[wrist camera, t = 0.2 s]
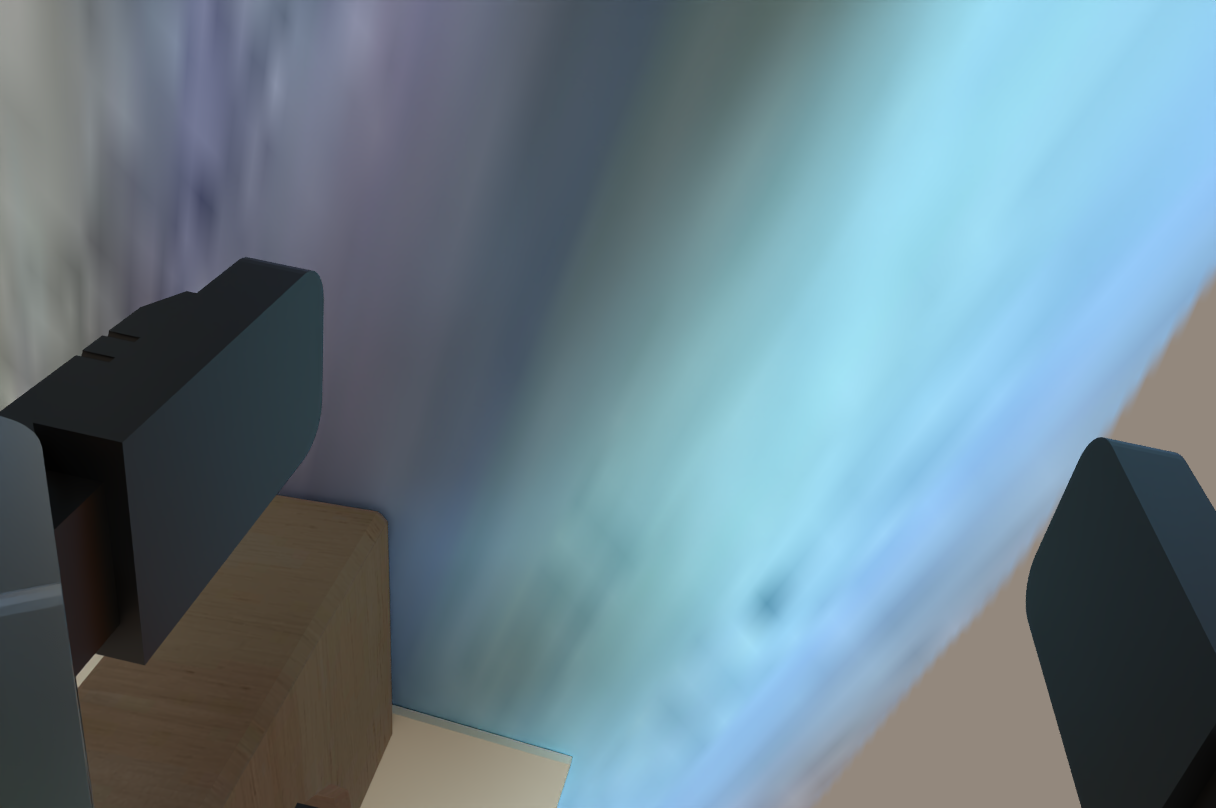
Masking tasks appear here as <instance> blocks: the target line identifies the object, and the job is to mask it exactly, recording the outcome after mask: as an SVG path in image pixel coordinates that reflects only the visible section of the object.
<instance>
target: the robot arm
mask: <svg viewBox="0 0 1216 808" xmlns="http://www.w3.org/2000/svg"><path fill="white" fill-rule="evenodd" d="M323 306H324V297H323V286H322V282H321V279H320V276H319V275H318V274H317V273H316V272H315V271H311V270H306V269H301V268H296V267H291V266H287V265H282V264H277V263H272V262H267V261H263V260H258V259H253V258H248V257H245V258H242V259H240V260H238V261H237V262H236V263H234V264H233V265H232V266H231V267H229V268H228V269H227V270H226V271H224V272H223V273H222V274H220V275H219V276H218V277H217V278H215V279H214V280H213V281H212V282H210V283H209V284H208V285H207V286H205V287H204V288H203V289H201V290H200V291H199V292H198V293H192V292H188V291H186V292H183V293H180V294H177V295H174V296H172V297H169V298H166V299H163V300H160V301H157V302H154V303H152V304H149V305H146V306H143V307H140V308H139V309H138V310H136V311H135V312H134V313H132V314H131V315H129V316H128V317H127V318H125V319H124V320H123V321H121V322H120V323H119V324H117V325H116V326H115V327H113V328H112V329H111V330H109V334H108V337H107V336H101V337H100V338H99V339H97V340H96V341H94V342H93V343H92V344H90V345H89V346H88V347H86V348H85V349H84V350H83V353H82V356H77V355H76V356H74V357H73V358H72V359H70V360H69V361H68V362H66V363H65V364H64V365H62V366H61V367H59V368H58V369H57V370H55V371H54V372H53V373H51V374H50V375H49V376H47V377H46V378H45V379H43V380H42V381H41V382H39V383H38V384H37V385H35V386H34V387H33V388H31V389H30V390H29V391H27V392H26V393H24V394H23V395H22V396H20V397H19V398H18V399H16V400H15V401H14V402H12V403H11V404H10V405H8V406H7V407H6V408H4V409H3V410H2V411H0V808H94V801H93V794H92V787H91V780H90V773H89V766H88V758H87V751H86V744H85V737H84V730H83V723H82V716H81V709H80V702H79V695H78V688H77V681H76V676H77V675H78V674H79V672H80V671H81V670H82V669H83V668H84V666H85V665H86V664H87V663H88V662H89V661H90V659H91V658H92V657H93V656H94V655H95V654H98V655H102V656H107V657H111V658H115V659H119V660H124V661H128V662H132V663H136V664H141V665H146V663H147V662H148V661H149V659H150V658H151V657H152V656H153V654H154V653H155V652H156V650H157V649H158V648H159V646H160V645H161V644H162V643H163V641H164V640H165V639H166V637H167V636H168V635H169V634H170V632H171V631H172V630H173V628H174V627H175V626H176V624H177V623H178V622H179V621H180V619H181V618H182V617H183V615H184V614H185V613H186V611H187V610H188V609H189V608H190V606H191V605H192V604H193V602H194V601H195V600H196V599H197V597H198V596H199V595H200V593H201V592H202V591H203V589H204V588H205V587H206V586H207V584H208V583H209V582H210V580H211V579H212V578H213V576H214V575H215V574H216V573H217V571H218V570H219V569H220V567H221V566H222V565H223V564H224V562H225V561H226V560H227V558H228V557H229V556H230V554H231V553H232V552H233V551H234V549H235V548H236V547H237V545H238V544H239V543H240V541H241V540H242V539H243V538H244V536H245V535H246V534H247V532H248V531H249V530H250V529H251V527H252V526H253V525H254V523H255V522H256V521H257V519H258V518H259V517H260V516H261V514H262V513H263V512H264V510H265V509H266V508H267V506H268V505H269V504H270V503H271V501H272V500H273V499H274V497H275V496H276V495H277V494H278V492H279V491H280V490H281V488H282V487H283V486H284V484H285V483H286V482H287V481H288V479H289V478H290V477H291V475H292V474H293V473H294V471H295V470H296V469H297V468H298V466H299V465H300V464H301V462H302V461H303V460H304V458H305V457H306V455H307V454H308V452H309V450H310V448H311V446H312V443H313V441H314V438H315V435H316V432H317V429H318V425H319V421H320V415H321V408H322V375H323ZM1026 613H1027V619H1028V623H1029V626H1030V630H1031V633H1032V637H1033V640H1034V644H1035V647H1036V651H1037V654H1038V657H1039V661H1040V665H1041V668H1042V672H1043V675H1044V679H1045V682H1046V685H1047V689H1048V692H1049V696H1050V700H1051V703H1052V706H1053V710H1054V713H1055V716H1056V720H1057V724H1058V727H1059V731H1060V734H1061V738H1062V741H1063V745H1064V748H1065V752H1066V755H1067V759H1068V762H1069V765H1070V769H1071V773H1072V776H1073V780H1074V783H1075V787H1076V790H1077V794H1078V797H1079V801H1080V804H1081V808H1216V511H1215V509H1214V507H1213V506H1212V504H1211V503H1210V501H1209V499H1208V498H1207V496H1206V494H1205V493H1204V491H1203V489H1202V488H1201V486H1200V484H1199V483H1198V481H1197V479H1196V478H1195V476H1194V475H1193V473H1192V471H1191V469H1190V468H1189V466H1188V464H1187V463H1186V461H1185V460H1184V458H1183V457H1182V456H1181V455H1179V454H1178V453H1175V452H1170V451H1165V450H1160V449H1156V448H1151V447H1146V446H1141V445H1137V444H1132V443H1127V442H1122V441H1117V440H1112V439H1108V438H1103V437H1100V438H1096V439H1095V440H1093V441H1092V442H1091V443H1090V444H1089V445H1088V446H1087V447H1086V449H1085V450H1084V452H1083V453H1082V455H1081V457H1080V459H1079V461H1078V463H1077V465H1076V468H1075V470H1074V472H1073V474H1072V476H1071V478H1070V481H1069V483H1068V485H1067V487H1066V489H1065V492H1064V494H1063V496H1062V498H1061V500H1060V503H1059V505H1058V507H1057V509H1056V511H1055V514H1054V516H1053V518H1052V520H1051V522H1050V524H1049V527H1048V529H1047V531H1046V533H1045V535H1044V538H1043V540H1042V542H1041V544H1040V546H1039V549H1038V551H1037V553H1036V555H1035V558H1034V560H1033V563H1032V566H1031V569H1030V573H1029V577H1028V583H1027V590H1026ZM295 808H318V807H314V806H309V805H305V804H301V803H297V804H296V806H295Z"/></svg>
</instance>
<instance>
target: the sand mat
mask: <svg viewBox="0 0 1216 808" xmlns="http://www.w3.org/2000/svg"><path fill="white" fill-rule="evenodd" d="M102 658H103V656H102V655H98V654H95V655H94V656H93V657H92V658H91V659H90V661H89V662H88V663H87V664H86V665H85V666H84V668H83V669H82V670H81V671H80V672H79V674H78V675H77V676H76V681H77V688H78V687H79V686H80V685H81V683H82V682H83V681H84V680H85V678H86V677H87V676H88V675H89V674H90V672H91V671H92V670H93V669H94V667H95V666H96V665H97V664H98V663H99V661H100V660H101V659H102ZM392 733H393V734H392V736H391V738H390V740H389V743H388V745H387V747H386V750H385V752H384V754H383V756H382V759H381V761H380V763H379V766H378V768H377V770H376V773H375V775H374V777H373V779H372V782H371V784H370V786H369V789H368V791H367V793H366V795H365V798H364V800H363V802H362V805H361V807H360V808H557V805H558V802H559V799H560V795H561V792H562V789H563V786H564V783H565V780H566V777H567V774H568V771H569V768H570V764H571V760H572V757H571V756H568V755H564V754H561V753H558V752H554V751H551V750H547V749H544V748H540V747H537V746H533V745H530V744H527V743H523V742H520V741H516V740H513V739H509V738H506V737H502V736H499V735H496V734H492V733H489V732H485V731H482V730H478V729H475V728H471V727H468V726H465V725H461V724H458V723H454V722H451V721H447V720H444V719H440V718H437V717H434V716H430V715H427V714H423V713H420V712H416V711H413V710H409V709H406V708H403V707H399V706H396V705H392Z"/></svg>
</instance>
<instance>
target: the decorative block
mask: <svg viewBox="0 0 1216 808" xmlns="http://www.w3.org/2000/svg"><path fill="white" fill-rule="evenodd" d="M78 695H79V702H80V709H81V716H82V723H83V730H84V737H85V744H86V751H87V758H88V766H89V773H90V780H91V787H92V794H93V801H94V808H295V806H296V804H297V803H301V804H305V805H309V806H314V807H318V808H360V807H361V805H362V802H363V800H364V798H365V795H366V793H367V791H368V789H369V786H370V784H371V782H372V779H373V777H374V775H375V773H376V770H377V768H378V766H379V763H380V761H381V759H382V756H383V754H384V752H385V750H386V747H387V745H388V743H389V740H390V738H391V736H392V734H393V733H392V682H391V632H390V592H389V551H388V521H387V520H386V519H385V518H384V517H383V515H382V514H381V513H379V512H378V511H372V510H366V509H360V508H353V507H347V506H341V505H335V504H329V503H323V502H317V501H311V500H305V499H298V498H292V497H286V496H280V495H276V496H275V497H274V499H273V500H272V501H271V503H270V504H269V505H268V506H267V508H266V509H265V510H264V512H263V513H262V514H261V516H260V517H259V518H258V519H257V521H256V522H255V523H254V525H253V526H252V527H251V529H250V530H249V531H248V532H247V534H246V535H245V536H244V538H243V539H242V540H241V541H240V543H239V544H238V545H237V547H236V548H235V549H234V551H233V552H232V553H231V554H230V556H229V557H228V558H227V560H226V561H225V562H224V564H223V565H222V566H221V567H220V569H219V570H218V571H217V573H216V574H215V575H214V576H213V578H212V579H211V580H210V582H209V583H208V584H207V586H206V587H205V588H204V589H203V591H202V592H201V593H200V595H199V596H198V597H197V599H196V600H195V601H194V602H193V604H192V605H191V606H190V608H189V609H188V610H187V611H186V613H185V614H184V615H183V617H182V618H181V619H180V621H179V622H178V623H177V624H176V626H175V627H174V628H173V630H172V631H171V632H170V634H169V635H168V636H167V637H166V639H165V640H164V641H163V643H162V644H161V645H160V646H159V648H158V649H157V650H156V652H155V653H154V654H153V656H152V657H151V658H150V659H149V661H148V662H147V663H146V665H141V664H136V663H132V662H128V661H124V660H119V659H115V658H111V657H107V656H103V658H102V659H101V660H100V661H99V663H98V664H97V665H96V666H95V667H94V669H93V670H92V671H91V672H90V674H89V675H88V676H87V677H86V678H85V680H84V681H83V682H82V683H81V685H80V686H79V687H78Z"/></svg>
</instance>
